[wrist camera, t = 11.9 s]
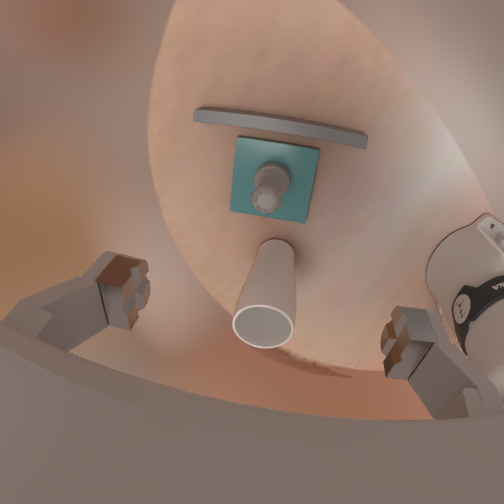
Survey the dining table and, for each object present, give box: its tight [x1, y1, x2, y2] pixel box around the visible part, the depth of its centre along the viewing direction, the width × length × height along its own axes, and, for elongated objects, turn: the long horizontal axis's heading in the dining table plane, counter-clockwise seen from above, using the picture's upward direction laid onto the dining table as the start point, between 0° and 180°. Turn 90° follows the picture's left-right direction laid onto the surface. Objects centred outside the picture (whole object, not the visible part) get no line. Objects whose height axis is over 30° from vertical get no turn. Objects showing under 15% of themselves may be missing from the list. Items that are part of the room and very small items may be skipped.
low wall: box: [193, 107, 368, 149], centre depth 34 cm, size 20×2×3 cm, turn 84°
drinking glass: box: [232, 239, 296, 348], centre depth 39 cm, size 7×7×15 cm
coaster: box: [230, 136, 320, 224], centre depth 39 cm, size 10×10×1 cm
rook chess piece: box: [251, 162, 290, 214], centre depth 35 cm, size 4×4×8 cm
